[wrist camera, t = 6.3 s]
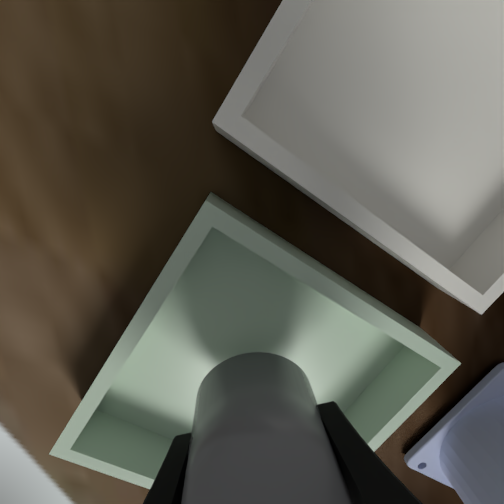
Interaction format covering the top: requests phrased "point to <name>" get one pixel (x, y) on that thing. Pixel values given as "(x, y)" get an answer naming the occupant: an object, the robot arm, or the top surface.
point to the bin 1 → (388, 127)
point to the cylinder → (260, 438)
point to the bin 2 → (246, 345)
